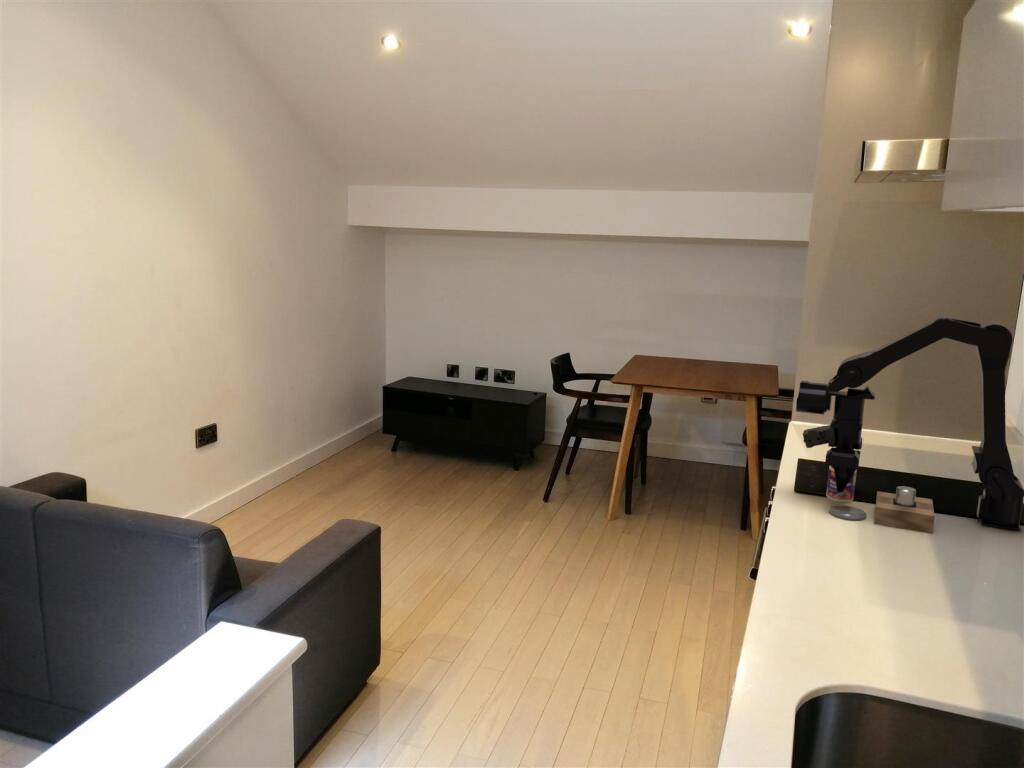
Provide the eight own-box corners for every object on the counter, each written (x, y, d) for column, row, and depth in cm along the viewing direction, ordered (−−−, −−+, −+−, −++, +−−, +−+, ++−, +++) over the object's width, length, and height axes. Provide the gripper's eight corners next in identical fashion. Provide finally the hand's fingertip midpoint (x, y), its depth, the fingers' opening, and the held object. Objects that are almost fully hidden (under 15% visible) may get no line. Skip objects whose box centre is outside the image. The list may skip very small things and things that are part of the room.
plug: (912, 516, 148) (915, 487, 146) (912, 521, 145) (916, 493, 144) (893, 513, 149) (896, 485, 148) (893, 518, 146) (896, 490, 145)
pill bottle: (824, 500, 157) (829, 456, 155) (827, 492, 162) (831, 450, 160) (852, 504, 155) (857, 460, 153) (854, 496, 160) (858, 454, 158)
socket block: (930, 515, 149) (932, 499, 148) (932, 533, 140) (934, 515, 140) (875, 507, 154) (877, 491, 153) (874, 523, 145) (876, 506, 144)
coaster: (867, 511, 151) (867, 508, 151) (865, 523, 145) (866, 520, 145) (830, 505, 154) (830, 502, 154) (827, 516, 148) (827, 514, 148)
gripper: (811, 404, 167) (805, 469, 170) (802, 422, 150) (795, 494, 153) (865, 409, 162) (858, 477, 165) (862, 429, 145) (854, 503, 148)
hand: (840, 487), depth 158 cm, fingers closed on pill bottle, 5 cm apart
